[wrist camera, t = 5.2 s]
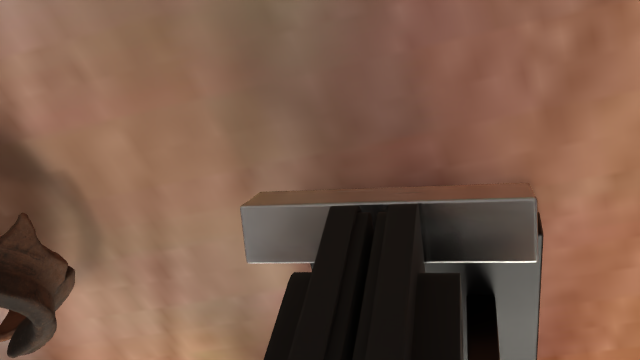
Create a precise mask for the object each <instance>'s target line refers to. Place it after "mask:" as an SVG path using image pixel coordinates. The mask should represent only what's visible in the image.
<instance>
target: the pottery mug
mask: <svg viewBox="0 0 640 360" xmlns="http://www.w3.org/2000/svg"><path fill="white" fill-rule="evenodd" d="M74 283H75V271H74V269H73V268H72V267H70V266H68V263H67V262H66V260H65V259H63V258H62V257H61V256H60V255H59V254H58V253H56V252H53V251H51V250H50V249H48V248H47V247H45V246H43V245H42V244H41V243H40V241H39V240H38V238H37V236H36V233H35V229H34V227H33V225H32V223H31V221H30V220H29V218H28V216H27V215H26V214H25V213H21V214H20V215H19V217H18V219H17V221H16V223H15V224H14V225H13V226H12V227H11V228H10V230H9V231H8V232H7V233H6V234H4V235H3V236H1V237H0V307H1V308H6V309H9V313H8V314H7V316H6V317H5V319H4V320H3V322H2V323H1V325H0V342H2V341H6V340H9V339H11V340H10V343H9V345H8V349H7V355H8V356H9V357H11V358H15V357H18V356H21V355H26V354H30V353H33V352H35V351H36V350H38V349H40V348H41V347H42V346H44V345H45V344H46V343H47V342H48V341H49V340H50V339H51V338H52V337H53V335H54V333H55V331H56V327H57V322H56V318H55V311H56V310H57V309H58V308H59V307H60V306H61V305H62V303H63V302H64V301H65V300H66V298H67V297H68V296H69V294H70V292H71V291H72V289H73V287H74Z"/></svg>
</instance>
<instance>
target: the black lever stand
mask: <svg viewBox="0 0 640 360" xmlns="http://www.w3.org/2000/svg"><path fill="white" fill-rule="evenodd" d="M537 216H538V261H537V262H535V263H424V264H425V273H460V276H461V292H462V312H463V346H464V360H537V348H538V329H539V309H540V290H541V270H542V251H543V230H542V225H541V220H540V214H539V212H537ZM310 265H311V268H312V270H313V266H314V263H310Z"/></svg>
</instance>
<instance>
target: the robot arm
mask: <svg viewBox="0 0 640 360" xmlns="http://www.w3.org/2000/svg"><path fill="white" fill-rule="evenodd" d="M264 360H464V346H463V312H462V292H461V276H460V273H425V264H424V254H423V244H422V235H421V225H420V215H419V207H418V204H389V205H388V210H387V212H378V214H377V219H376V225H375V230H374V228H373V222H372V216H371V213H370V212H362V211H361V208H360V206H359V205H343V206H331V207H330V209H329V212H328V216H327V219H326V223H325V226H324V230H323V234H322V237H321V241H320V244H319V248H318V252H317V255H316V259H315V262H314V266H313V270H312V272H294V273H293V274H292V275H291V277H290V279H289V282H288V285H287V288H286V291H285V294H284V297H283V300H282V304H281V307H280V310H279V313H278V316H277V319H276V323H275V326H274V329H273V332H272V335H271V338H270V341H269V345H268V348H267V351H266V354H265V357H264Z"/></svg>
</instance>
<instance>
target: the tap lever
mask: <svg viewBox="0 0 640 360" xmlns="http://www.w3.org/2000/svg"><path fill="white" fill-rule="evenodd" d="M389 204H418V207H419V215H420V225H421V235H422V244H423V254H424V263H535V262H537V261H538V216H537V198H536V196H535V194H534V192H533V190H532V188H531V186H530V184H529V183H503V184H474V185H445V186H416V187H387V188H358V189H329V190H301V191H272V192H260V193H258V194H257V195H255V196H254V197H253V198H251V199H250V200H248V201H247V202H246V203H244V204H243V205H241V207H240V211H241V219H242V227H243V235H244V244H245V252H246V260H247V263H314V262H315V259H316V255H317V252H318V248H319V244H320V241H321V237H322V234H323V230H324V226H325V223H326V219H327V216H328V212H329V209H330V207H331V206H343V205H359V206H360V208H361V211H362V212H370V213H371V216H372V222H373V228H374V230H375V225H376V219H377V214H378V212H387V210H388V205H389Z"/></svg>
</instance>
